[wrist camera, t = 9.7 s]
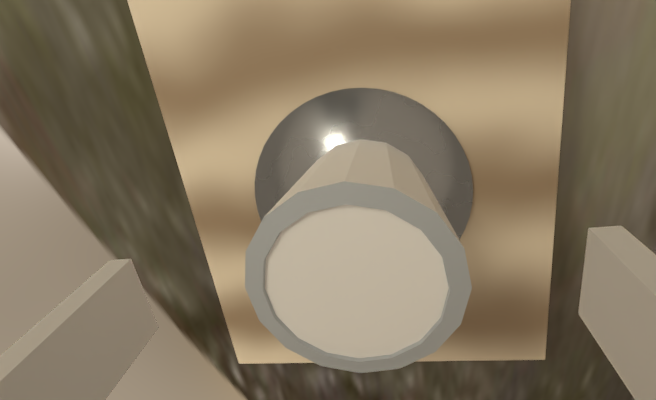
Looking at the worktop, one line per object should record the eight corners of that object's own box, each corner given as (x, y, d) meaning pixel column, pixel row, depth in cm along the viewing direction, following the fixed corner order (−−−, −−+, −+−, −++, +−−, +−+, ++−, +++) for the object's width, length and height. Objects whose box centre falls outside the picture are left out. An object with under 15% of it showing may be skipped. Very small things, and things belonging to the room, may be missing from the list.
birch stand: (172, -1, 20) (121, -8, 16) (536, -73, 17) (580, -102, 13) (258, 319, 27) (237, 366, 24) (521, 310, 24) (546, 362, 20)
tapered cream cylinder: (464, 232, 18) (506, 342, 12) (333, 280, 20) (308, 396, 14) (403, 96, 16) (415, 140, 10) (264, 165, 18) (199, 238, 12)
